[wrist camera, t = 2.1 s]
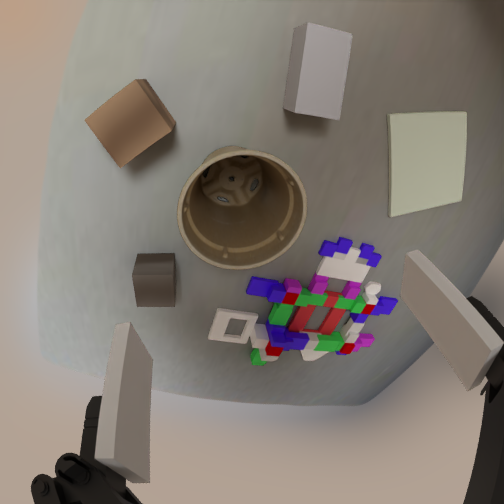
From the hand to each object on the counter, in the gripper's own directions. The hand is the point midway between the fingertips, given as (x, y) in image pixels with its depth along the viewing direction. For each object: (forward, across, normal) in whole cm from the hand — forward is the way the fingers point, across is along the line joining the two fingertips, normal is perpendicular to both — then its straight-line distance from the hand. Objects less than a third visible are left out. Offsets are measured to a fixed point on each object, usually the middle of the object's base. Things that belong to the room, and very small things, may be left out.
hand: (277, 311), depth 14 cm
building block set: (+20, +7, -19) cm, 28 cm away
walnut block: (+19, -7, +8) cm, 22 cm away
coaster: (+19, +23, -2) cm, 30 cm away
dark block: (+19, -10, -8) cm, 23 cm away
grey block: (+19, +9, +9) cm, 23 cm away
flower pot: (+19, 0, 0) cm, 19 cm away
